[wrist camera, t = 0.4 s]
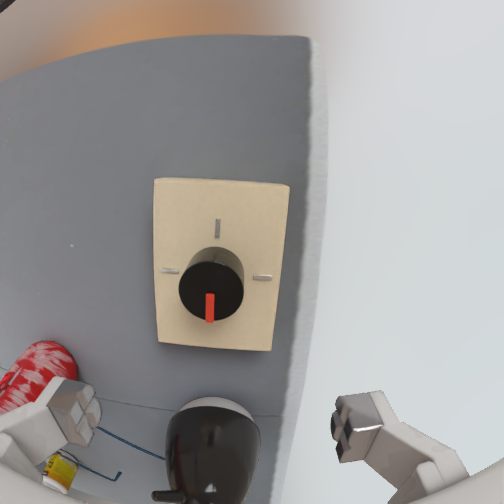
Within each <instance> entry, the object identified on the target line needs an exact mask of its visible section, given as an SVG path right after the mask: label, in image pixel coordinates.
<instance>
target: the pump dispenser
mask: <svg viewBox="0 0 504 504" xmlns="http://www.w3.org/2000/svg"><path fill="white" fill-rule="evenodd" d="M260 445H261V437H260V431H259V428H258V427H257V425H256V424H255V423H254V421H253V419H252V417H251V416H250V414H249V413H248V412H247V411H246V410H245V409H244V408H243V407H242V406H240V405H239V404H237V403H235V402H233V401H231V400H228V399H225V398H220V397H203V398H199V399H195V400H193V401H191V402H189V403H187V404H186V405H184V406H183V407H182V408H181V409H180V410H179V411H178V412H177V414H175V415H174V416H173V417H172V418H171V420H170V422H169V424H168V428H167V433H166V444H165V461H166V470H167V476H168V481H169V485H170V489H171V490H166V491H153V492H152V495H151V496H152V499H153V500H154V501H157V502H167V503H176V504H243V503H244V501H245V499H246V497H247V495H248V493H249V491H250V488H251V486H252V483H253V480H254V477H255V474H256V470H257V466H258V461H259V454H260Z"/></svg>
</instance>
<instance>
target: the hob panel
mask: <svg viewBox="0 0 504 504" xmlns="http://www.w3.org/2000/svg"><path fill="white" fill-rule="evenodd" d="M289 192H290V187H288V186H286V185H284V184H275V183H263V182H250V181H236V180H221V179H201V178H176V177H164V178H158V179H155V180H154V210H153V249H154V282H155V302H156V317H157V330H158V341H159V342H165V343H173V344H182V345H191V346H201V347H212V348H225V349H239V350H257V351H271V346H272V338H273V331H274V323H275V316H276V308H277V300H278V292H279V284H280V276H281V267H282V258H283V250H284V241H285V231H286V222H287V212H288V202H289ZM207 247H222V248H225V249H228V250H230V251H231V252H233V253H234V254H235V255H236V256H237V257H238V258H239V259H240V261H241V263H242V265H243V268H244V297H243V301H242V303H241V306H240V307H239V309H238V310H237V311H236V312H235V313H234V314H233V315H231V316H230V317H228V318H225V319H222V320H218V321H214V323H207V322H205V320H203V319H200V318H198V317H196V316H194V315H193V314H191V313H190V312H189V311H188V310H187V309H186V308H185V307H184V305H183V303H182V302H181V299H180V296H179V290H178V288H179V281H180V279H181V276H182V275H183V273H184V271H185V269H186V267H187V266H188V264H189V262H190V260H191V259H192V257H193V256H194V255H195V254H196V253H197V252H198V251H200V250H202V249H204V248H207Z"/></svg>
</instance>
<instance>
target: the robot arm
mask: <svg viewBox="0 0 504 504" xmlns="http://www.w3.org/2000/svg"><path fill="white" fill-rule="evenodd" d="M95 393H96V392H95V390H94V388H93V386H92V385H90V384H87V383H83V382H79V381H75V380H71V379H67V378H63V377H59V376H55V377H53V378H52V379H51V381H50V382H49V383H48V385H47V386H46V387H45V389H44V390H43V391H42V393H41V394H40V395H39V397H38V398H37V400H36V401H35V402H29V403H27V404H25V405H23V406H20V407H18V408H16V409H14V410H12V411H9V412H7V413H5V414H3V415H0V504H90V503H87V502H84V501H81V500H79V499H76V498H73V497H71V496H68V495H66V494H63V493H61V492H59V491H56V490H54V489H52V488H49V487H47V486H45V485H43V484H41V483H42V481H43V476H42V474H41V473H40V472H39V471H38V470H37V469H36V466H37V465H39V464H40V463H41V462H43V461H44V460H46V459H47V458H49V457H50V456H51V455H53V454H54V453H55V452H57V451H58V450H60V449H61V448H62V447H64V446H65V445H66V444H68V442H70V443H74V444H77V445H81V446H85V447H89V444H90V442H91V440H92V438H93V436H94V432H93V428H95V427H97V426H98V425H99V423H100V421H101V416H102V409H101V405H100V402H99V401H98V400H97V399H96V398H95V397H94V395H95ZM335 406H336V409H337V410H336V411H335V412H334V413H333V414H332V417H331V434H332V437H333V439H334V440H336V441H337V442H338V443H337V446H336V451H337V455H338V459H339V462H340V463H346V462H352V461H358V460H364V461H365V462H366V463H367V464H368V465H369V466H370V467H372V468H373V469H374V470H375V471H376V472H378V473H379V474H380V475H381V476H382V477H383V478H385V479H386V480H387V481H388V482H389V483H391V484H392V485H393V486H394V487H396V488H397V489H398V491H397V492H396V493H395V494H394V495H393V497H392V498H391V499H390V500H389V501H388V504H504V458H502V459H501V460H499V461H497V462H496V463H494V464H492V465H491V466H489V467H487V468H485V469H484V470H482V471H480V472H478V473H476V474H474V475H473V476H469V474H468V472H467V470H466V468H465V467H464V465H463V463H462V461H461V460H460V458H459V456H458V455H457V453H456V451H455V450H453V449H451V448H450V447H448V446H446V445H444V444H442V443H440V442H438V441H436V440H435V439H433V438H431V437H429V436H427V435H426V434H424V433H422V432H420V431H418V430H416V429H415V428H413V427H411V426H410V425H408V424H406V423H404V422H401V423H400V422H399V420H398V419H397V417H396V415H395V413H394V411H393V409H392V407H391V406H390V404H389V402H388V400H387V398H386V396H385V394H384V392H382V391H381V390H380V391H374V392H368V393H360V394H353V395H345V396H339V397H338V398H337V400H336V403H335Z"/></svg>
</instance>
